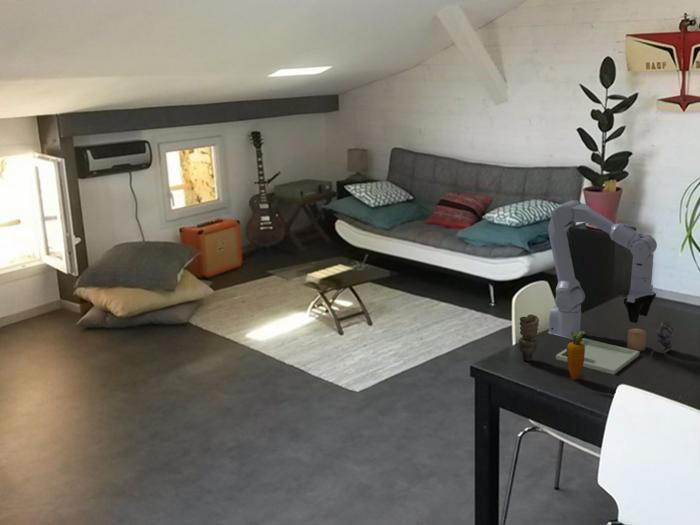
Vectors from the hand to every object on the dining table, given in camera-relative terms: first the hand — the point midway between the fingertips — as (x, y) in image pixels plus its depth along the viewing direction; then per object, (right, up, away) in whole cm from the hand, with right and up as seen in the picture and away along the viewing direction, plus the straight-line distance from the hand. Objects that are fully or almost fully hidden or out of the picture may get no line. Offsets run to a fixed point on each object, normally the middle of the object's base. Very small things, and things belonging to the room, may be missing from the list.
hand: (638, 318), depth 222 cm
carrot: (-25, -16, -17) cm, 34 cm away
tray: (-14, -12, -3) cm, 18 cm away
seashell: (+8, -10, +1) cm, 13 cm away
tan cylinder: (0, -10, +3) cm, 10 cm away
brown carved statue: (-35, -13, -4) cm, 37 cm away
